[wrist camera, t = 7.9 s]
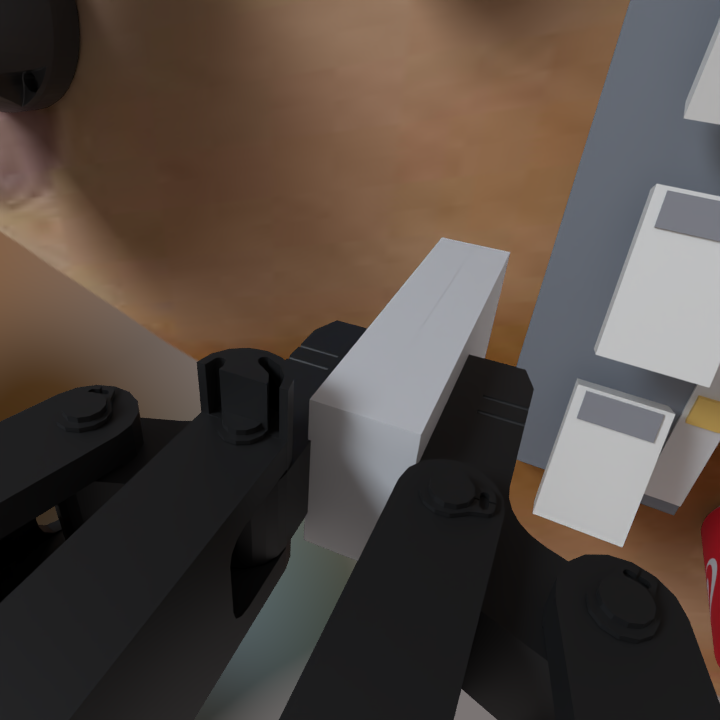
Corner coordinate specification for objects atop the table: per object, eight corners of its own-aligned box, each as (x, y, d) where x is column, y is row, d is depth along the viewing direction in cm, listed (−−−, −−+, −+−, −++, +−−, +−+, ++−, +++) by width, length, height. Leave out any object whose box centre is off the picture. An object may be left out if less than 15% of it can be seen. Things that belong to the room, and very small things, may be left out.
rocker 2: (534, 500, 35) (532, 514, 33) (577, 378, 33) (578, 384, 31) (619, 532, 34) (622, 548, 32) (668, 406, 32) (676, 414, 30)
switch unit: (501, 418, 43) (482, 470, 38) (676, -137, 26) (683, -175, 21) (671, 476, 40) (675, 541, 35) (1006, -119, 22) (1109, -159, 17)
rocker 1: (593, 348, 29) (595, 355, 27) (650, 189, 27) (657, 183, 25) (700, 379, 28) (710, 388, 26) (767, 213, 26) (785, 209, 24)
